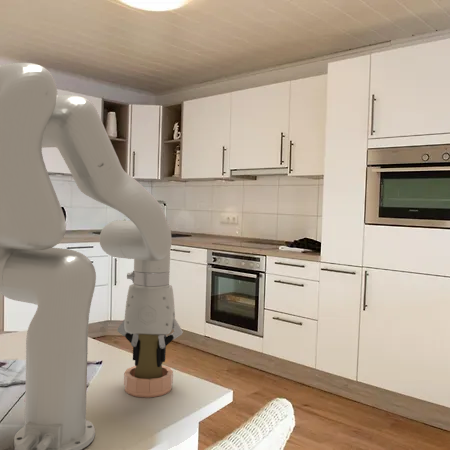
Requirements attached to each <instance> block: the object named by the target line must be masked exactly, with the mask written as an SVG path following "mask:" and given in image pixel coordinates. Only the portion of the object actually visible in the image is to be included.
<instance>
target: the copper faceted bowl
mask: <svg viewBox="0 0 450 450" xmlns="http://www.w3.org/2000/svg"><path fill="white" fill-rule="evenodd" d="M135 369H136V366H135V365H133V366H131V367H128V368H127V369H126V370H125V371H124V372H123V373H124V374H123V385H124V391H125V393H126V394H128V395H129V396H133V397H136V398H145V399H147V398H149V399H150V398H157V397H162V396H165V395H167V394H168V393H169V394H170V392H171V391H172V389H173V383H174V370H172V368H171V367H169V366H165V365H163V364H162V372H163V377H160V378H154V379H139V378H136V377H134V375H135Z"/></svg>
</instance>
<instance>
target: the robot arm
mask: <svg viewBox="0 0 450 450" xmlns="http://www.w3.org/2000/svg"><path fill="white" fill-rule="evenodd" d="M43 148H57V150H58V152H59V153H60V156H62V158H63V161H64V162H65V165H66V167H67V168H68V170H69V172H70V174H71V176H72V178H73V180H74V183H76V186H77V188H78V190H79V191H80V192H81V193H82V194H84V195H86V196H87V197H89V198H90V199H92V200H94V201H96V202H98V203H100V204H103V205H106V206H107V207H109V208H112V209H114V210H116V211H118V212H120V213H121V214H122V215H124V216H125V217H126V218H127V219H129V220H124V219H121V220H120V219H119V220H118V219H117V220H114V221H111V222H109V223H107V224H105V225H104V227H102V229H101V231H100V234H99V245H100V248H101V249H102V251H103V252H104V253H106V254H107V255H109V256H110V257H114V258H118V259H128V260H133V270H132V271H131V272H127V273H126V279H127V280H130V281H132V284H130V285H129V287H128V290H127V295H126V303H125V310H124V319H123V320H122V322H121V323H120V324H119V326H118V327H117V329H116V330H117V332H118V333H119V334H121V336H123V337H125V338H126V340H127V341H128V342H129V343H130V345H131V346H132V361H134V366H137V365H138V360H139V344H140V340H139V339H138V334H145V335H158V339H159V348H158V349H157V367H160V366H161V365H163V363H165V362H166V355H167V354H166V353H167V352H166V349H167V346H168V345H169V344H170V343H171V342H172V341H173V340H175V339H177V338H178V337H180V336H182V335H183V333H184V331H183V330H182V328H181V325H180V324H179V323H178V321H177V319H176V318H175V317H176V314H175V313H176V312H175V311H176V310H175V298H174V289H173V286H172V284H171V285H170V274H171V273H170V270H171V248H172V243H173V242H172V240H173V239H172V229H171V225H170V224H169V223H168V220H167V217H166V215H165V213H164V210H163V208H162V206H161V204H160V203H159V201H158V200H157V199H156V198H155V196H153V194H152V193H151V192H149V191H148V190H147V188H145V187H144V186H143V185H142V184H141V183H140V182H138V181H137V180H136V179H135V178H133V176H131V175H130V174H129V173H127V172H126V171H125V170H124V169H123V166H122V165H121V162H120V159H119V157H118V155H117V153H116V150H115V148H114V146H113V144H112V141H111V138H110V137H109V134H108V133H107V130H106V128H105V125H104V124H103V121H102V119H101V116H100V114H99V112H98V110H97V108H96V106H95V105H94V104H93V103H92V101H90V100H89V99H88V98H86V97H84V96H80V95H72V94H71V95H69V94H65V95H58V87H57V83H56V80H55V78H54V76H53V75H52V73H51V71H49V70H48V69H47V68H45V67H44V66H42V65H40V64H37V63H33V62H32V63H31V62H15V63H6V64H0V294H1V295H2V296H4V297H5V298H7V299H9V300H13V301H16V302H22V303H27V304H33V305H36V306H37V309H36V311H35V313H34V315H33V317H32V318H31V320H30V323H29V325H28V327H27V328H28V329H27V331H26V339H25V341H26V343H25V390H24V391H25V394H24V396H25V400H24V426H23V427H21V428H19V430H18V431H17V432H16V433H15V434H14V437H13V447H14V450H84V449H85V448H86V447H88V446H89V445H90V444H91V443H92V442H93V441H94V439H95V437H96V428H95V425H94V424H93V423H92V422H91V421H90V420H89V419H86V418H87V416H86V415H87V385H88V384H87V383H88V380H87V379H88V354H89V353H88V350H89V349H88V346H89V345H88V341H89V340H88V339H89V338H88V337H89V319H90V313H91V306H92V300H93V297H94V292H95V287H96V282H97V281H96V280H97V274H96V268H95V266H94V264H93V262H92V261H91V259H90V258H89V257H87V255H85V254H83V253H81V252H79V251H76V250H73V249H68V248H63V247H62V248H60V247H56V246H57V245H59V244H60V243H61V242H62V241H63V239H64V237H65V236H66V231H67V222H66V217H65V215H64V212H63V209H62V206H61V204H60V200H59V198H58V196H57V194H56V191H55V189H54V185H53V182H52V180H51V177H50V175H49V173H48V170H47V167H46V163H45V161H44V158H43V157H44V156H43ZM171 332H172V333H171Z"/></svg>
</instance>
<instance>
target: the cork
mask: <svg viewBox="0 0 450 450" xmlns="http://www.w3.org/2000/svg"><path fill="white" fill-rule="evenodd" d="M138 339H139V340H140V344H139V360H138V365H137V366H136V369H135V375H134V377H136V378H139V379H154V378H160V377H163V372H162V365H163V364H162V365H161V366H160V367H157V349H158V348H159V339H158V335H145V334H138Z"/></svg>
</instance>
